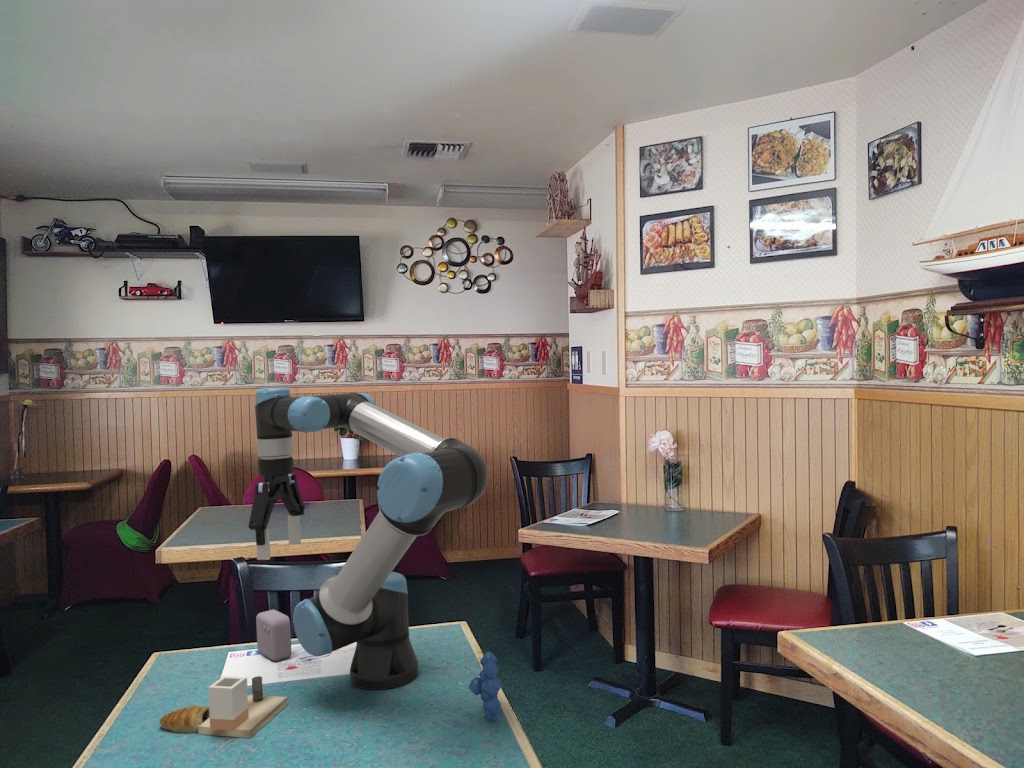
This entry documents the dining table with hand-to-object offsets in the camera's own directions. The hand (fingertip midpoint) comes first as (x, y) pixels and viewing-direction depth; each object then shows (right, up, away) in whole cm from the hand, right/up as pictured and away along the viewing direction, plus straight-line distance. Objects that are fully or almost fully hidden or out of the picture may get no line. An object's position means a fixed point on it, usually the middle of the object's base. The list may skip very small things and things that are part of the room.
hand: (279, 551), depth 166 cm
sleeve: (-3, -28, -23) cm, 36 cm away
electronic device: (-6, -29, +14) cm, 33 cm away
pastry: (-12, -30, -20) cm, 38 cm away
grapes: (+47, -28, -20) cm, 58 cm away
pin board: (-1, -29, -18) cm, 34 cm away
